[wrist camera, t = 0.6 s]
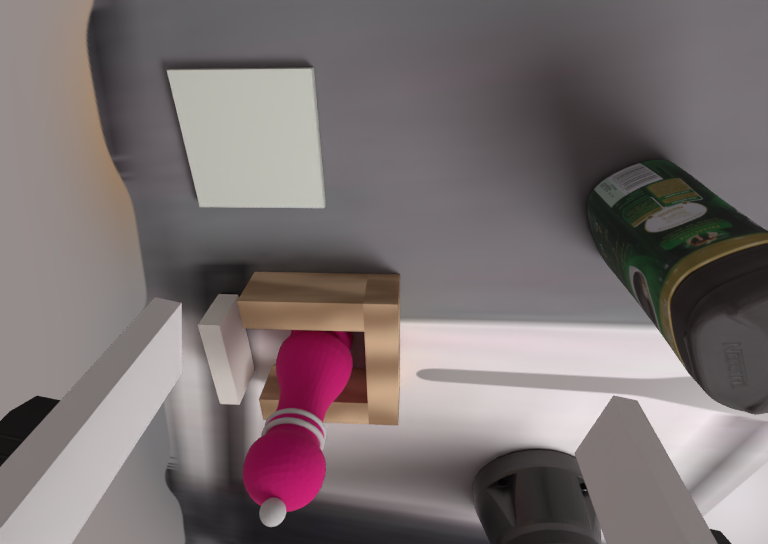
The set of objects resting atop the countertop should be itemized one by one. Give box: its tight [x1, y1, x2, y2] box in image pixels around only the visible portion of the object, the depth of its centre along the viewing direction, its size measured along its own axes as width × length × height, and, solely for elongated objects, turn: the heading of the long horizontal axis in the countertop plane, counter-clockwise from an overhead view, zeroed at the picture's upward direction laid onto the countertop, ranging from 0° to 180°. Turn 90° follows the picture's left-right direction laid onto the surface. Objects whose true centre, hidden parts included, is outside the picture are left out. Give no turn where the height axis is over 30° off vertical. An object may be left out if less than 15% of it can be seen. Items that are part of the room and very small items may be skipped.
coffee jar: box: [587, 159, 768, 415], centre depth 30 cm, size 10×8×19 cm
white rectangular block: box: [198, 294, 255, 405], centre depth 45 cm, size 10×2×5 cm, turn 1°
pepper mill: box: [243, 330, 353, 527], centre depth 38 cm, size 7×7×20 cm
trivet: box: [167, 67, 326, 208], centre depth 37 cm, size 11×11×1 cm
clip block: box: [237, 272, 400, 425], centre depth 45 cm, size 15×14×5 cm
